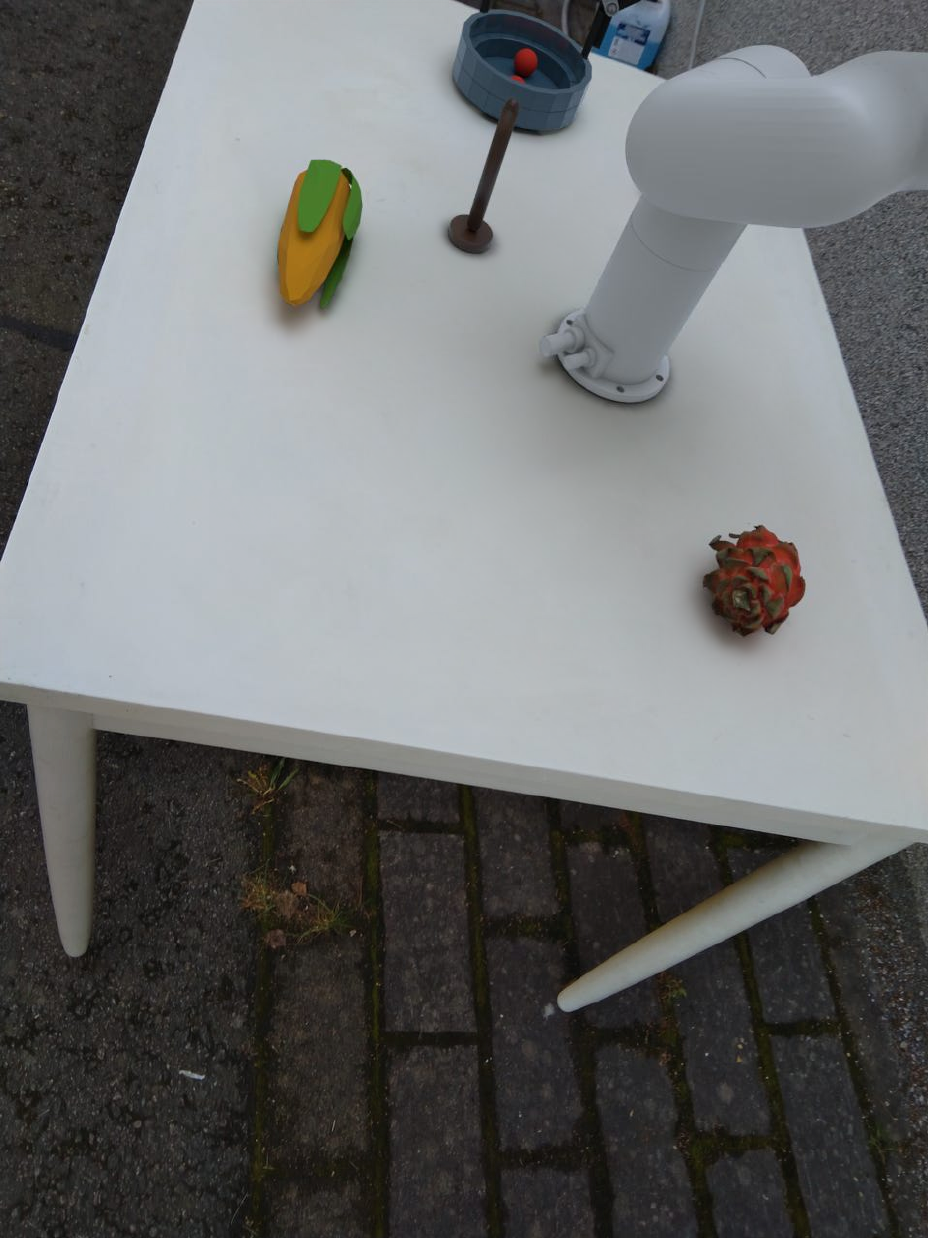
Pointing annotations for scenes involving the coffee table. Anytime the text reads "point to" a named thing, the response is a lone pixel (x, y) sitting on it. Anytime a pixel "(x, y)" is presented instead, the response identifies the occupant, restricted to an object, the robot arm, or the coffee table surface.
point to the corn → (318, 231)
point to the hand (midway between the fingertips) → (536, 29)
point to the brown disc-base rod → (485, 188)
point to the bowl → (490, 65)
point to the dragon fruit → (755, 580)
